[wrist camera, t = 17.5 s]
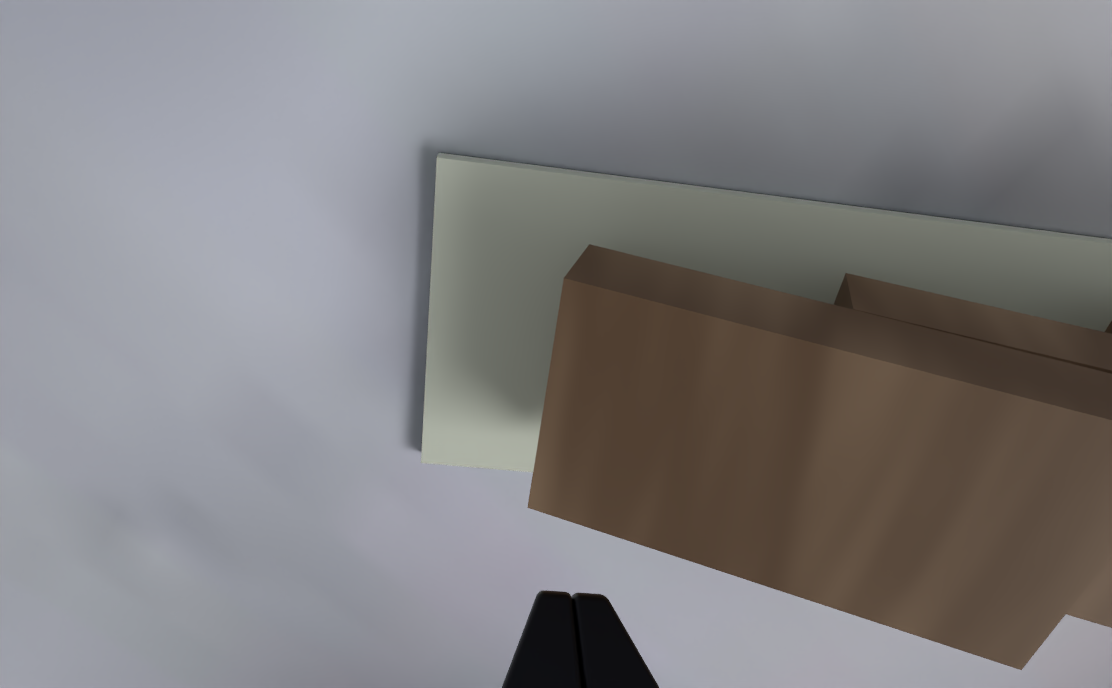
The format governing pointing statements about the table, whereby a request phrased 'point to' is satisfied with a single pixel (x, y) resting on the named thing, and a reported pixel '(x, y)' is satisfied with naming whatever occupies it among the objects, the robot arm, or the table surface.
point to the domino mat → (691, 242)
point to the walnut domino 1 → (828, 452)
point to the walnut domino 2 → (1108, 592)
